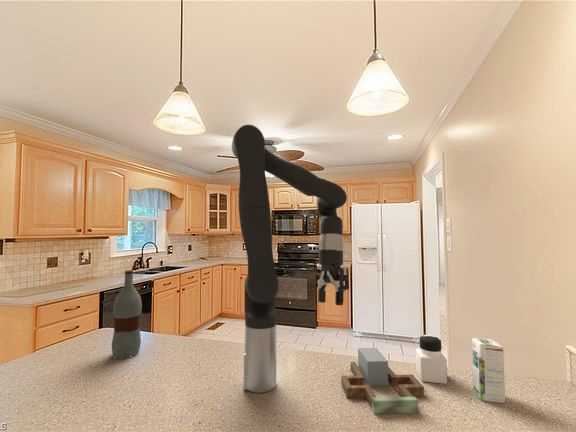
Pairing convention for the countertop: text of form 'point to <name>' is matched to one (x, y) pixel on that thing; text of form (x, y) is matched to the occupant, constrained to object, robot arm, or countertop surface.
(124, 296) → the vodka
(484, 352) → the syrup box
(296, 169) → the robot arm
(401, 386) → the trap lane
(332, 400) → the countertop surface
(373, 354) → the slate block
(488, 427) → the countertop surface
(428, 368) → the medicine bottle
